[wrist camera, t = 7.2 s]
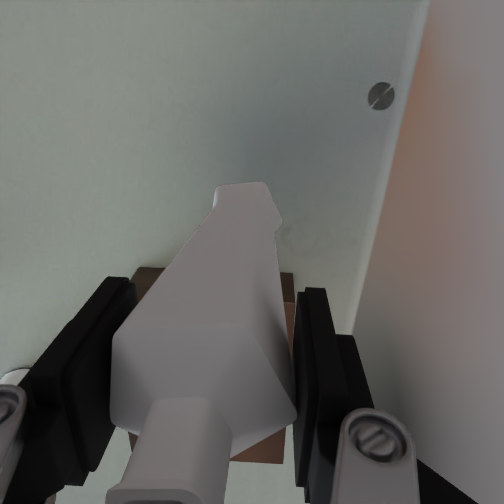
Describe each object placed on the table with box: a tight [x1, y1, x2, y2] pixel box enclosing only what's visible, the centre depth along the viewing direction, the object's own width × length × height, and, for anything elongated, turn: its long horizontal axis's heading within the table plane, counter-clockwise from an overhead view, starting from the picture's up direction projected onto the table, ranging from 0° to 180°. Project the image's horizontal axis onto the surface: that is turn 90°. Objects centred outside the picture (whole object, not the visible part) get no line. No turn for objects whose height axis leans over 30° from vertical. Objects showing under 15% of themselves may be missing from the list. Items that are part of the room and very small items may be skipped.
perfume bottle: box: [105, 181, 297, 504], centre depth 13 cm, size 5×4×15 cm
